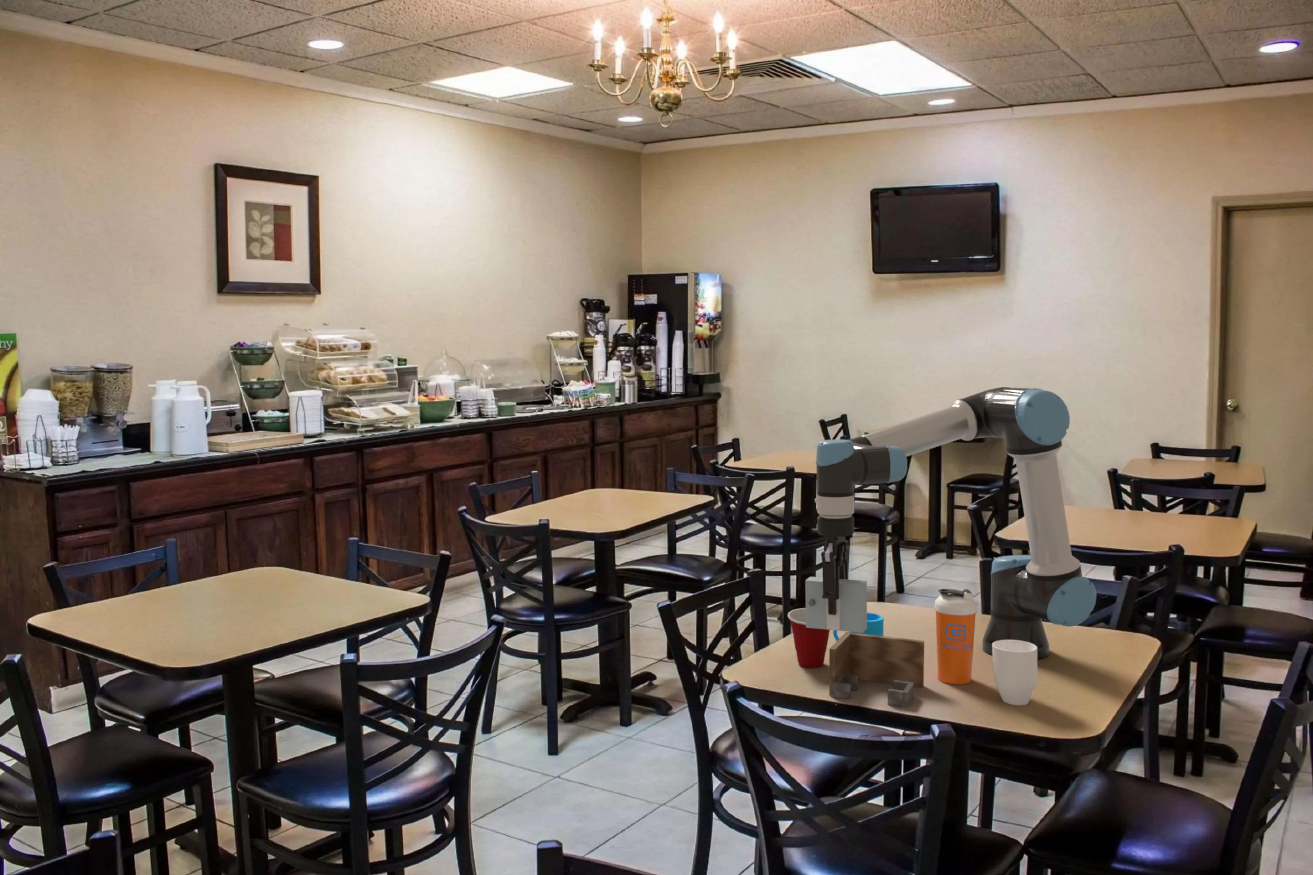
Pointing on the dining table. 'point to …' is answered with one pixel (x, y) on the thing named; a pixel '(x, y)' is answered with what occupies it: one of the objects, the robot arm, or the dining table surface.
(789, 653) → the dining table surface
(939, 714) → the dining table surface
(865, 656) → the cabinet
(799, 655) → the plastic cup
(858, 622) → the door
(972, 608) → the shaker bottle
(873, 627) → the mug
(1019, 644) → the mug
